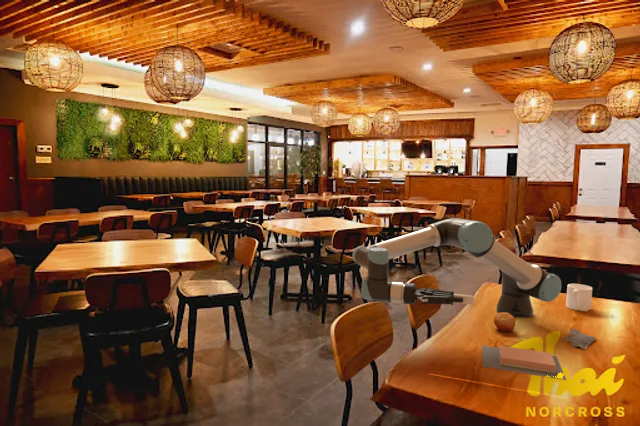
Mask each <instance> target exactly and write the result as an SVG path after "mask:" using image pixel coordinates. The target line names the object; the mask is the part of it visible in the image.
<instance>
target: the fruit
mask: <svg viewBox="0 0 640 426" xmlns="http://www.w3.org/2000/svg"><path fill="white" fill-rule="evenodd" d="M515 318H516V317H513V316H512V315H510V314H509V313H507V312H501V313H499V312H497V314H495V315H494V317H493V323H494V325H495V327H496V329H497V330H498V331H500V332H505V333H506V332H509V333H511V332H513V331H514V330H515V327H516V319H515Z"/></svg>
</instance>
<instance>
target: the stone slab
mask: <svg viewBox="0 0 640 426" xmlns="http://www.w3.org/2000/svg"><path fill="white" fill-rule="evenodd" d="M568 335H571V336H568ZM562 338H563V339H564V341H569V344H570V345H571V346H572V347H576V348H577V347H578V348H581V350H583V351H585V350H586V349H588V347H589V346H590V345H591V344H592V343H593V342H594V341H596V340H597V338H596V337H594V336H592V335H587V334H584V333H583V332H582V333H581V332H580V331H579V330H578V329H576V328H572V329H570V330H569V332H568V334H565V336H563V337H562Z"/></svg>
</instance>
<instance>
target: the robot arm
mask: <svg viewBox="0 0 640 426" xmlns="http://www.w3.org/2000/svg"><path fill="white" fill-rule="evenodd" d="M433 246H434V247H440V246H452V247H456V248H459V249H462V250H463V251H465V252H467V253H468V254H470V255H471V256H473V257H474V258H482V259H484V260H485V261H487V262H488V263H490V264H491V265H493V266H494V267H495V268H497V269H498V270H500V271H501V272H502V277H501V280H502V281H501V294H500V297H499V299H498V302H497V304H496V312H497V313H501V312H507V313H509V314H510V315H512V316H513V317H514V318H519V319H520V318H521V319H526V318H527V319H528V318H532V317H533V316H534V308H533V305H532V301H531V297H532V298H534V299H537V300H539V301H542V302H547V303H550V302H552V301H555V300H556V299H557V298H558V296H559V295H560V294H561V290H562V280H561V278H560V277H559V276H558V275H557V274H555V273H550V272H547V271H546V270H544V269H543V268H542V267H540V266H539V265H537V264H536V263H535V264H534V263H531V262H527V261H525V260H524V259H522V258H521V257H519V256H518V255H517V254H516V253H514V252H513V251H512V250H511V249H509V248H508V247H506V246H505V245H503V244H502V243H500V242H499V241H497V240H496V237H495V234H494V233H493V231H492V229H491V228H490V226H489V225H487V224H486V223H484V222H482V221H479V220H472V219H471V220H470V219H467V218H461V217H449V218H445V219H442V220H440V221H437V222H433V223H431V224H428V225H427V227H425V228H422V229H419V230H416V231H413V232H410V233H407V234H404V235H401V236H398V237H397V236H396V237H394V238H391V239H387V240H384V241H382V242H377V243H375V244H370V245H368V246H364V245H359V246H357V247H355V248H353V249H354V250H353V252H352V254H351V255H352V260H353V261H354V263H356V264H357V265H358V266H360V267H362V268H364V269H365V270H367V278H365V279H363V280H362V283H361V288H360V294H361V297H362V298H363V299H364V300H367V301H373V302H384V303H394V304H395V305H398V304H404V305H411V306H414V305H415V303H416V301H417V302H420V303H421V304H422V305H426V304H427V305H428V304H432V305H433V304H434V305H450V306H453V305H454V303H455V304H462V305H463V304H465V305H474V298H475V296H474V295H471V294H469V295H468V294H461V293H455V292H454V291H453V290H452V291H448V290H442V289H437V288H436V289H435V288H430V287H427V286H426V287H425V288H420V289H419V288H417V285H416V283H412V282H405V283H404V282H402V281H401V282H400V281H390V280H389V265H390V263H389V262H390V260H391V259H395V258H397V257H401V256H403V255H404V256H405V255H407V254H410V253H413V252H416V251H420V250H422V249H427V248H428V247H433Z"/></svg>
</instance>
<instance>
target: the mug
mask: <svg viewBox="0 0 640 426" xmlns="http://www.w3.org/2000/svg"><path fill="white" fill-rule="evenodd" d="M592 297H593V287H592V286H589V285H587V284H579V283H569V284H567V288H566V301H565V306H566V308H567V309H570V310H573V309H574V310H573V311H577V310H580V311H579V312H589V311H588V310H590V309H592V308H591V307H592V300H593V299H592ZM590 311H591V310H590Z"/></svg>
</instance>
